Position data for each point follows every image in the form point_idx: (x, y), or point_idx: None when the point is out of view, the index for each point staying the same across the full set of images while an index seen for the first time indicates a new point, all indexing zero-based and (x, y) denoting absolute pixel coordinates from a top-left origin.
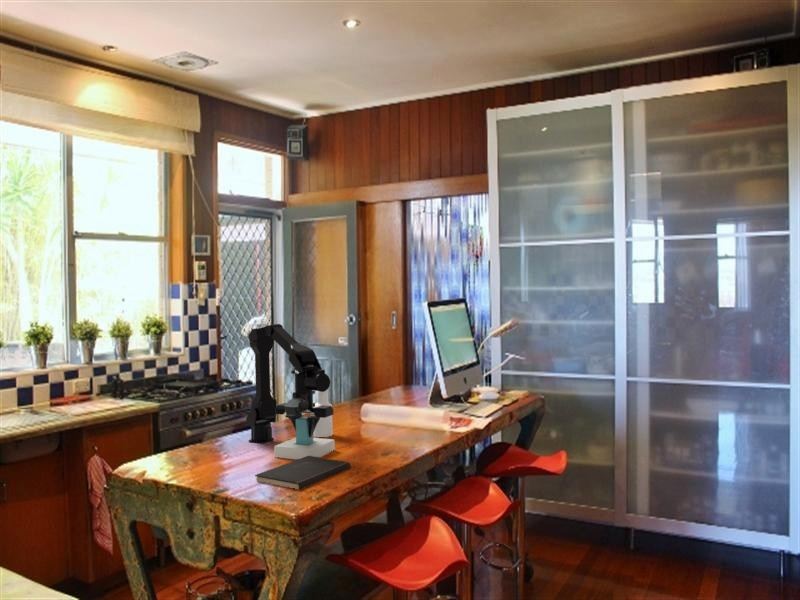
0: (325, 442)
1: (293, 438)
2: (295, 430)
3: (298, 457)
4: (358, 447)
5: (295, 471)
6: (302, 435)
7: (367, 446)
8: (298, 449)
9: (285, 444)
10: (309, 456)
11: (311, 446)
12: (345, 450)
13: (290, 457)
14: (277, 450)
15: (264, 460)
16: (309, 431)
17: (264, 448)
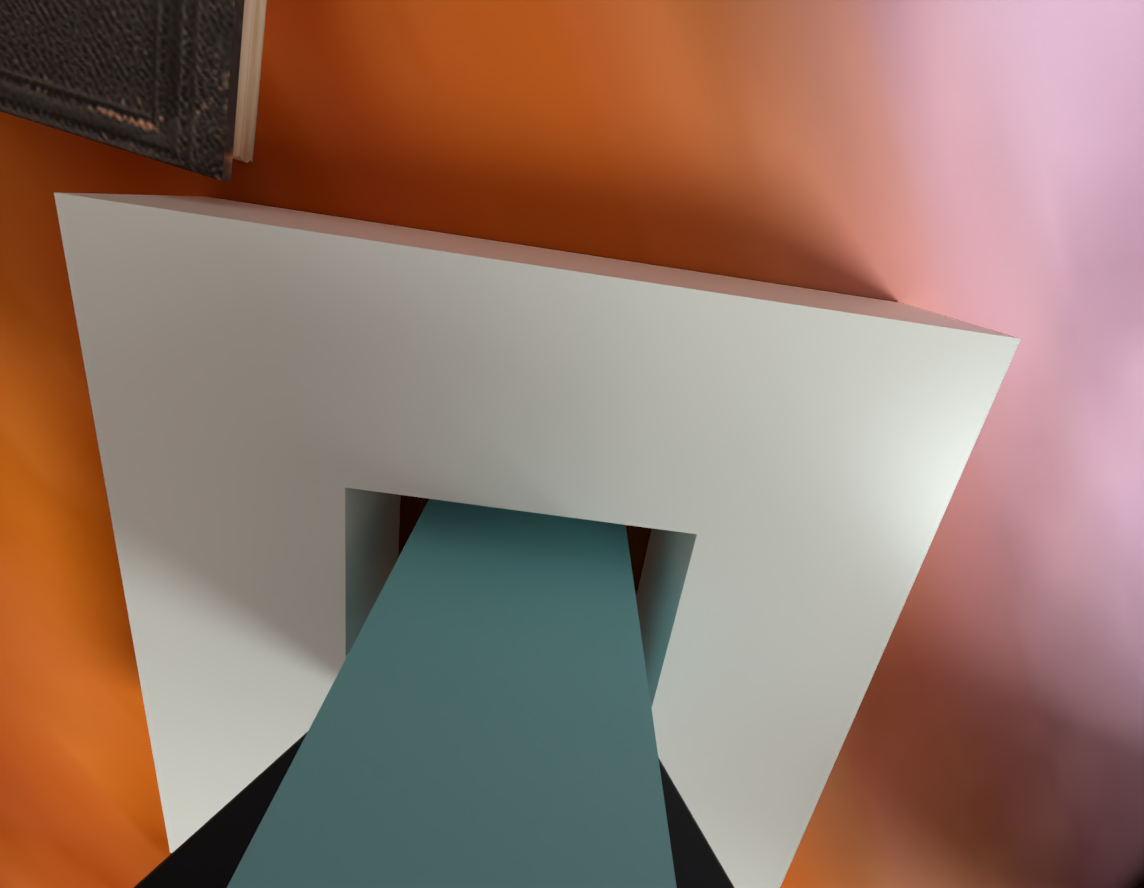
0: (190, 715)
1: (796, 828)
2: (712, 853)
3: (460, 237)
4: (81, 843)
5: None
6: (461, 676)
7: (22, 879)
8: (426, 249)
9: (816, 500)
10: (160, 119)
11: (255, 454)
12: (133, 738)
13: (615, 262)
14: (900, 313)
15: (1028, 69)
16: None
17: (1137, 671)
